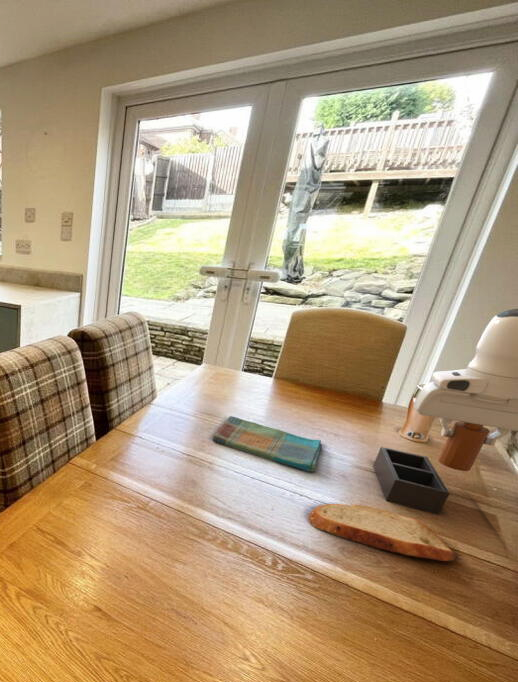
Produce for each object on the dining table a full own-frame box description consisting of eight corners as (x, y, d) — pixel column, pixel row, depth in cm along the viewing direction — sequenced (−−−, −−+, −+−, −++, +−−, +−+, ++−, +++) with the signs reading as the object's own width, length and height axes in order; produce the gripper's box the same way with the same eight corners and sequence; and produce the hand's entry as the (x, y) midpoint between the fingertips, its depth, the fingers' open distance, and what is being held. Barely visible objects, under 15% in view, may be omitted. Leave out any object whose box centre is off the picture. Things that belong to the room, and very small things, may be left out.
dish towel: (313, 476, 95) (317, 467, 94) (211, 442, 109) (213, 434, 108) (321, 447, 107) (324, 439, 106) (228, 420, 121) (230, 413, 120)
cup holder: (418, 476, 95) (427, 456, 93) (438, 515, 83) (449, 493, 80) (372, 465, 99) (380, 446, 97) (385, 500, 87) (395, 479, 85)
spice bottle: (465, 462, 93) (489, 413, 88) (474, 473, 89) (499, 422, 84) (435, 456, 96) (457, 408, 91) (442, 466, 92) (465, 416, 87)
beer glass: (390, 432, 115) (410, 385, 109) (406, 429, 117) (426, 382, 111) (419, 444, 109) (442, 395, 103) (435, 441, 110) (459, 392, 105)
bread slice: (298, 517, 82) (304, 502, 80) (354, 497, 88) (360, 483, 86) (404, 587, 66) (412, 570, 65) (463, 557, 72) (472, 541, 71)
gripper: (558, 388, 82) (527, 446, 87) (424, 371, 92) (403, 423, 97) (576, 399, 77) (542, 459, 82) (432, 379, 87) (409, 434, 92)
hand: (465, 439), depth 90 cm, fingers closed on spice bottle, 5 cm apart
